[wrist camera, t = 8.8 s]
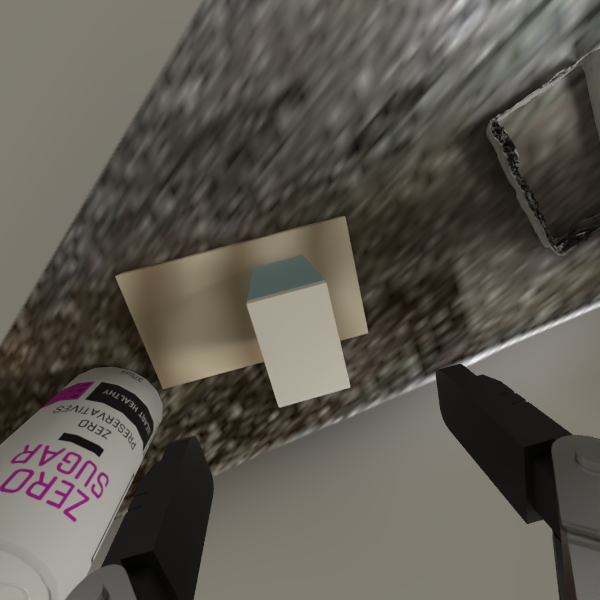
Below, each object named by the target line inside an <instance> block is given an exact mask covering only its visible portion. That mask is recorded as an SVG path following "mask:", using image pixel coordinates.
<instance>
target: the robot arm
mask: <svg viewBox="0 0 600 600" xmlns="http://www.w3.org/2000/svg"><path fill="white" fill-rule="evenodd" d="M436 381H437V388H438V396H439V404H440V410H441V414H442V417H443V420H444V422H445V424H446V426H447V427H448V429H449V430H450V431H451V433H452V434H453V435H454V436H455V437H456V439H457V440H458V441H459V442H460V443H461V444H462V446H463V447H464V448H465V449H466V451H467V452H468V453H469V454H470V455H471V457H472V458H473V459H474V460H475V462H476V463H477V464H478V465H479V466H480V468H481V469H482V470H483V471H484V472H485V474H486V475H487V476H488V477H489V479H490V480H491V481H492V482H493V483H494V485H495V486H496V487H497V488H498V489H499V491H500V492H501V493H502V494H503V495H504V497H505V498H506V499H507V500H508V501H509V503H510V504H511V505H512V506H513V508H514V509H515V510H516V511H517V513H518V514H519V515H520V516H521V517H522V519H523V520H524V521H525V522H526V523H527V524H529V523H532V522H536V521H540V520H543V519H544V521H545V522H546V523H547V524H548V525H549V526H550V527H551V528H552V539H553V547H554V557H555V566H556V574H557V583H558V592H559V600H600V439H598V438H594V437H590V436H582V435H572V434H571V433H570V432H568V431H567V430H565V429H564V428H563V427H562V426H560V425H559V424H557V423H556V422H555V421H553V420H552V419H551V418H549V417H548V416H546V415H545V414H544V413H543V412H541V411H540V410H538V409H537V408H536V407H534V406H533V405H532V404H530V403H529V402H526V401H525V399H524V398H522V397H521V396H520V395H518V394H517V393H516V394H515V393H514V391H513V390H512V389H510V388H509V387H507V386H506V385H505V384H503V383H502V382H501V381H498V380H496V379H493V378H490V377H488V376H485V375H479V376H476V375H475V374H473V373H472V372H471V371H470V370H469V369H467V368H466V367H465V366H463V365H462V364H457V365H454V366H450V367H446V368H443V369H439V370H437V371H436ZM213 487H214V486H213V478H212V474H211V471H210V468H209V466H208V464H207V461H206V459H205V456H204V454H203V451H202V449H201V446H200V444H199V442H198V440H197V438H196V437H195V436H191V437H188V438H184V439H180V440H177V441H173V442H170V443H169V444H168V446H167V448H166V450H165V453H164V455H163V458H162V460H161V462H160V463H156V464H154V465H153V466H152V468H151V469H150V470H149V471H148V472H147V474H146V475H145V476H144V477H143V478H142V480H141V482H140V484H139V486H138V488H137V490H136V493H135V495H134V499H132V501H131V504H130V506H129V508H128V513H126V514H125V517H124V519H123V521H122V523H121V525H120V527H119V530H118V532H117V534H116V536H115V538H114V540H113V543H112V545H111V547H110V549H109V551H108V553H107V556H106V558H105V560H104V562H103V564H102V566H101V568H100V569H98V570H96V571H94V572H93V573H91V574H90V575H89V576H87V577H86V578H85V579H83V580H82V581H81V582H80V583H79V584H78V585H77V586H76V587H75V588H74V589H73V590H72V591H71V593H70V594H69V595H68V596H67V598H66V599H65V600H194V595H195V589H196V584H197V578H198V573H199V568H200V562H201V557H202V552H203V546H204V541H205V536H206V530H207V525H208V520H209V514H210V509H211V503H212V498H213V491H214V488H213Z"/></svg>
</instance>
